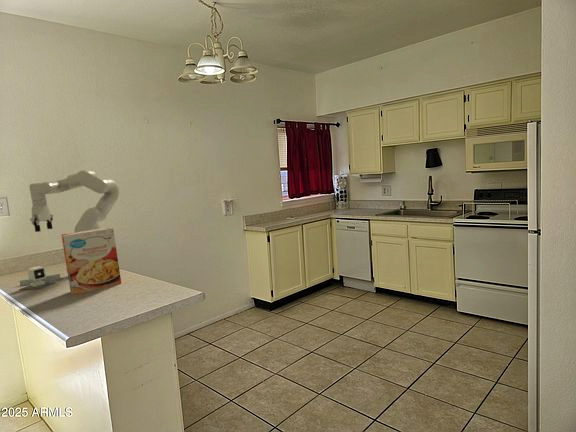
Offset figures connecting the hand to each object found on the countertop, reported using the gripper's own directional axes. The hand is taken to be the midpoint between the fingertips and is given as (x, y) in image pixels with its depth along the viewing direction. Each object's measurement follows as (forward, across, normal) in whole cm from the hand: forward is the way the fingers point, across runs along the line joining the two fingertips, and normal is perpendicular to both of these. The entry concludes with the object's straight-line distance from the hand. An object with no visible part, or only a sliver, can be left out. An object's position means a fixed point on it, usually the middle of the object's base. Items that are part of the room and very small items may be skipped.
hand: (44, 230), depth 242 cm
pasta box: (+28, +35, +56) cm, 72 cm away
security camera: (+28, +27, +14) cm, 41 cm away
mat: (+28, +27, +14) cm, 42 cm away
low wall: (+28, +18, +8) cm, 35 cm away
